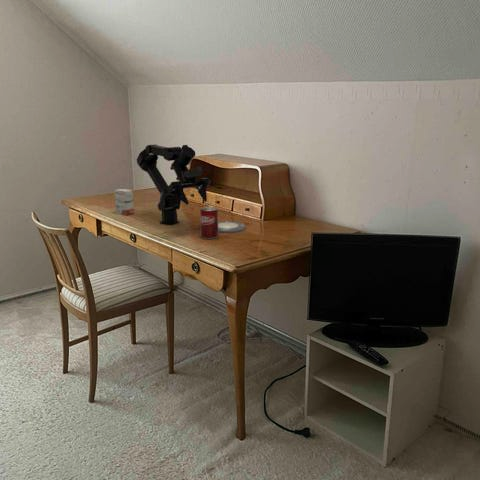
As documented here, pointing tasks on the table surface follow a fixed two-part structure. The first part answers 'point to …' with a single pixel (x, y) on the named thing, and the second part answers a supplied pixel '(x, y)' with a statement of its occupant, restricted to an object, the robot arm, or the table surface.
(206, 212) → the soda can
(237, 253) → the table surface
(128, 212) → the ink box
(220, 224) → the dial plate
